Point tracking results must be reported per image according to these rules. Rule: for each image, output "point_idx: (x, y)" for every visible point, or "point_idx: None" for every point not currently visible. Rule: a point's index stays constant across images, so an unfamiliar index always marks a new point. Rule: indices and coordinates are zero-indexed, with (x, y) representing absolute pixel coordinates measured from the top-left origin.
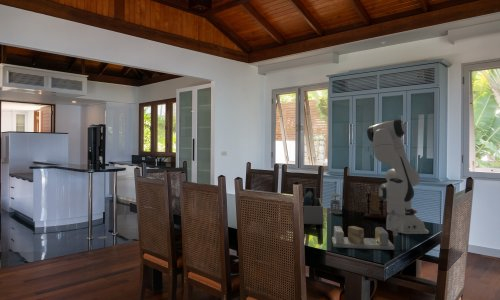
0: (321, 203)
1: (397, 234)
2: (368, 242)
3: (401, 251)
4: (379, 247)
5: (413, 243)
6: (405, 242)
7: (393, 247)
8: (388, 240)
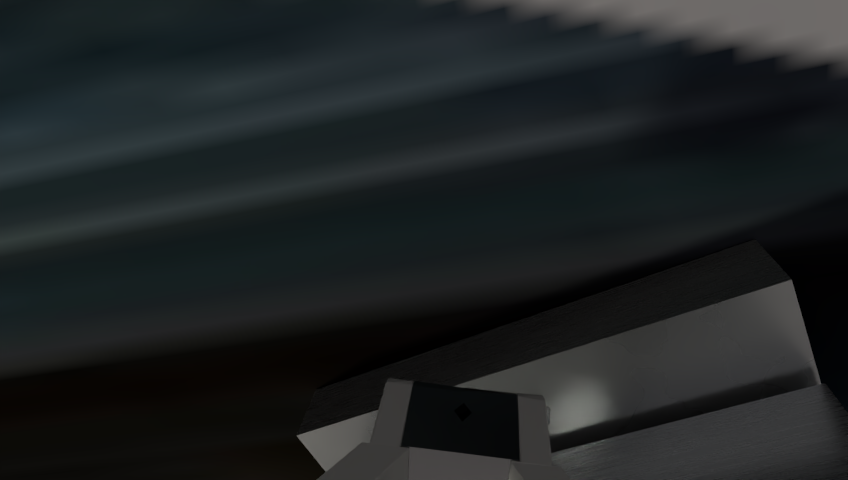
0: None
1: (440, 400)
2: None
3: (824, 99)
4: None
5: (14, 21)
6: (78, 170)
7: (777, 275)
8: None
